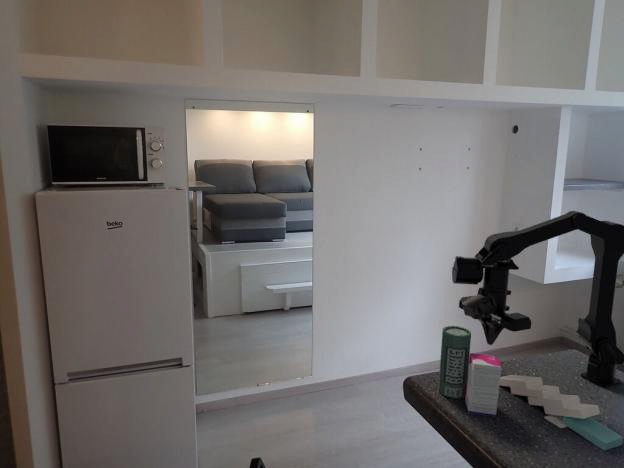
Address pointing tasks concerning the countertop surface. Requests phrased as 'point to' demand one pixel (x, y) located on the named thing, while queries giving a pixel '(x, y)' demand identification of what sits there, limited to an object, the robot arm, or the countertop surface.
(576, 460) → the countertop surface
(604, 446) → the end domino
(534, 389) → the domino
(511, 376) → the domino
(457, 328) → the can
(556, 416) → the pad
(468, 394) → the supplement box
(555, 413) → the domino
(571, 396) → the domino
